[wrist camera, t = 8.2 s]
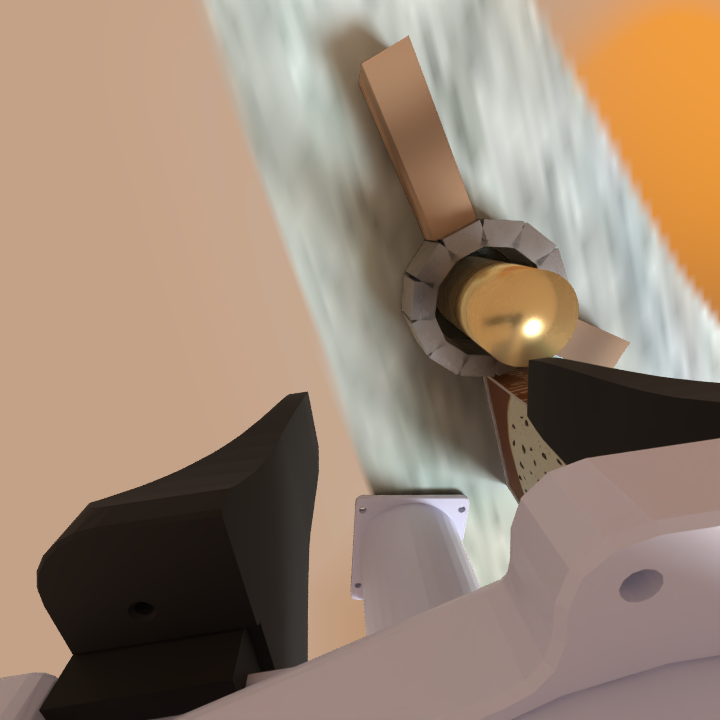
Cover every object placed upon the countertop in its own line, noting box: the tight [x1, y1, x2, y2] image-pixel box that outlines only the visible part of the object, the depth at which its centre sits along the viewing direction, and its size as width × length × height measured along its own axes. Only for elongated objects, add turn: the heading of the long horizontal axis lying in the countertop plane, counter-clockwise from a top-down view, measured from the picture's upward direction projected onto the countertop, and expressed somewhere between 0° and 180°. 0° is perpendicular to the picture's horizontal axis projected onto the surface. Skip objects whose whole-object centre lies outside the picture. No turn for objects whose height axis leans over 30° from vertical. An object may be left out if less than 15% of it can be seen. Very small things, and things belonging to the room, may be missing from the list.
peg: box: [436, 256, 579, 367], centre depth 18 cm, size 4×4×7 cm
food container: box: [483, 367, 566, 504], centre depth 20 cm, size 12×6×10 cm, turn 18°
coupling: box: [358, 36, 630, 377], centre depth 19 cm, size 15×16×3 cm
